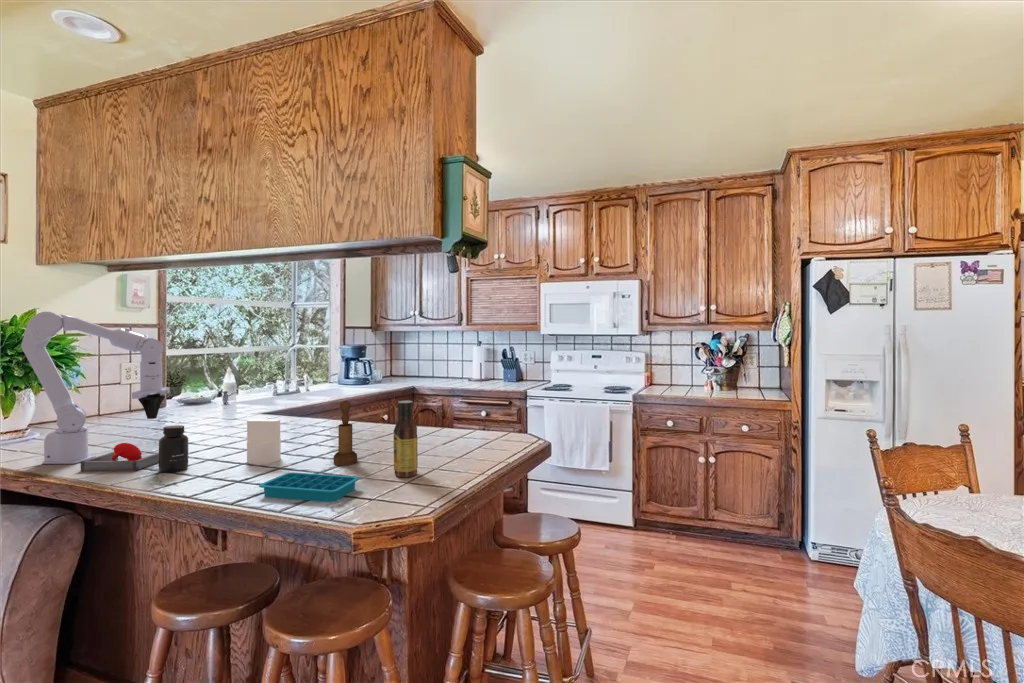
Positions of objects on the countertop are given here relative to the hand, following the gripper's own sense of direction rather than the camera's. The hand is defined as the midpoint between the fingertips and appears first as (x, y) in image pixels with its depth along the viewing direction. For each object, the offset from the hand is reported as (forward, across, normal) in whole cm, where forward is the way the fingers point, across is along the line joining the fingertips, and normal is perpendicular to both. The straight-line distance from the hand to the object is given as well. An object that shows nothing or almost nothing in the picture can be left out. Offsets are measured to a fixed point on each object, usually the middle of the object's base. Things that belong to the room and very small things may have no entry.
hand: (151, 418), depth 159 cm
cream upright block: (+11, -12, -41) cm, 44 cm away
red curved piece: (+11, -16, -4) cm, 19 cm away
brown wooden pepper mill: (+11, -15, -66) cm, 69 cm away
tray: (+10, -16, -4) cm, 20 cm away
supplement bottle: (+11, -22, -21) cm, 32 cm away
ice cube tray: (+11, -42, -66) cm, 79 cm away
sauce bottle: (+11, -28, -86) cm, 91 cm away
